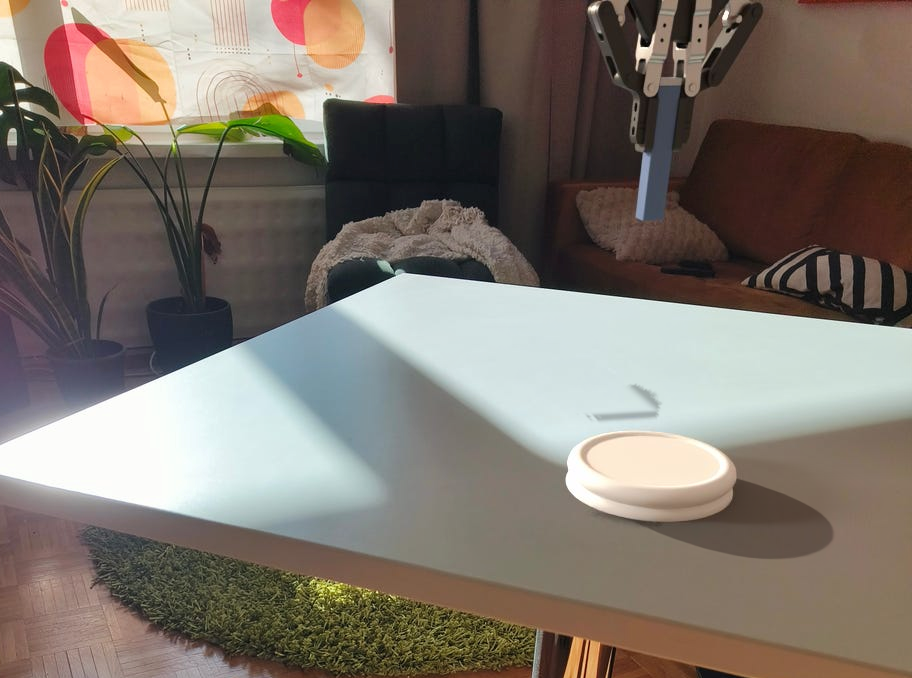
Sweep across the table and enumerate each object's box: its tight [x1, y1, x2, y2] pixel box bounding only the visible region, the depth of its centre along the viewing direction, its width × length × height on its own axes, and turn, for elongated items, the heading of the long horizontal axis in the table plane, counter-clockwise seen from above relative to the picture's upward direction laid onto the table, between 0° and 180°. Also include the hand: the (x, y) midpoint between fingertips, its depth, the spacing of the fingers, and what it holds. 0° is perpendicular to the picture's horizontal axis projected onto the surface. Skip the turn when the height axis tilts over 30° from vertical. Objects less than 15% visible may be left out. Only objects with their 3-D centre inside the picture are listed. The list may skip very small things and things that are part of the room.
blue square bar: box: [635, 76, 682, 222], centre depth 71 cm, size 2×2×10 cm
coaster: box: [565, 430, 738, 523], centre depth 54 cm, size 10×10×4 cm
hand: (657, 150), depth 71 cm, fingers closed on blue square bar, 2 cm apart
